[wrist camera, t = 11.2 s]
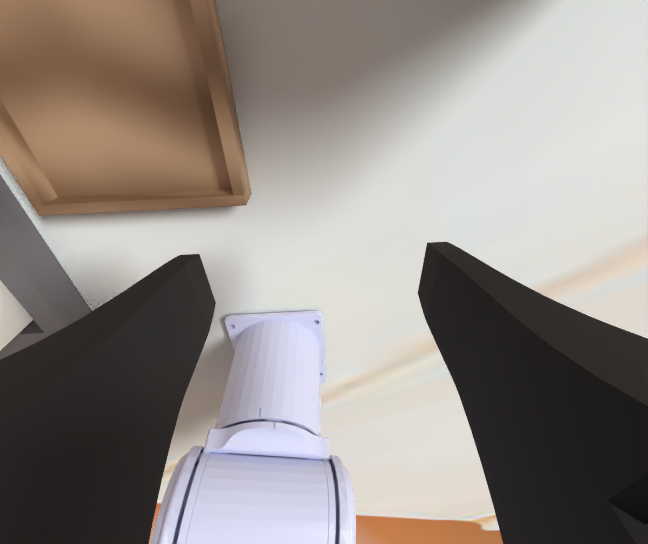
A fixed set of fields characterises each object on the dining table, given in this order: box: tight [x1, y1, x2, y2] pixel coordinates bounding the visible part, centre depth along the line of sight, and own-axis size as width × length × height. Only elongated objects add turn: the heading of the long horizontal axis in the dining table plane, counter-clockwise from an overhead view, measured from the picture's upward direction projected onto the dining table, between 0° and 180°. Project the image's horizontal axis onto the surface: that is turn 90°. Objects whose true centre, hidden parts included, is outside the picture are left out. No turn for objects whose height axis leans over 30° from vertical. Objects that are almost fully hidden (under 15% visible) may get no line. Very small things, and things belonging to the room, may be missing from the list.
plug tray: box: [0, 0, 251, 215], centre depth 15 cm, size 12×12×2 cm
